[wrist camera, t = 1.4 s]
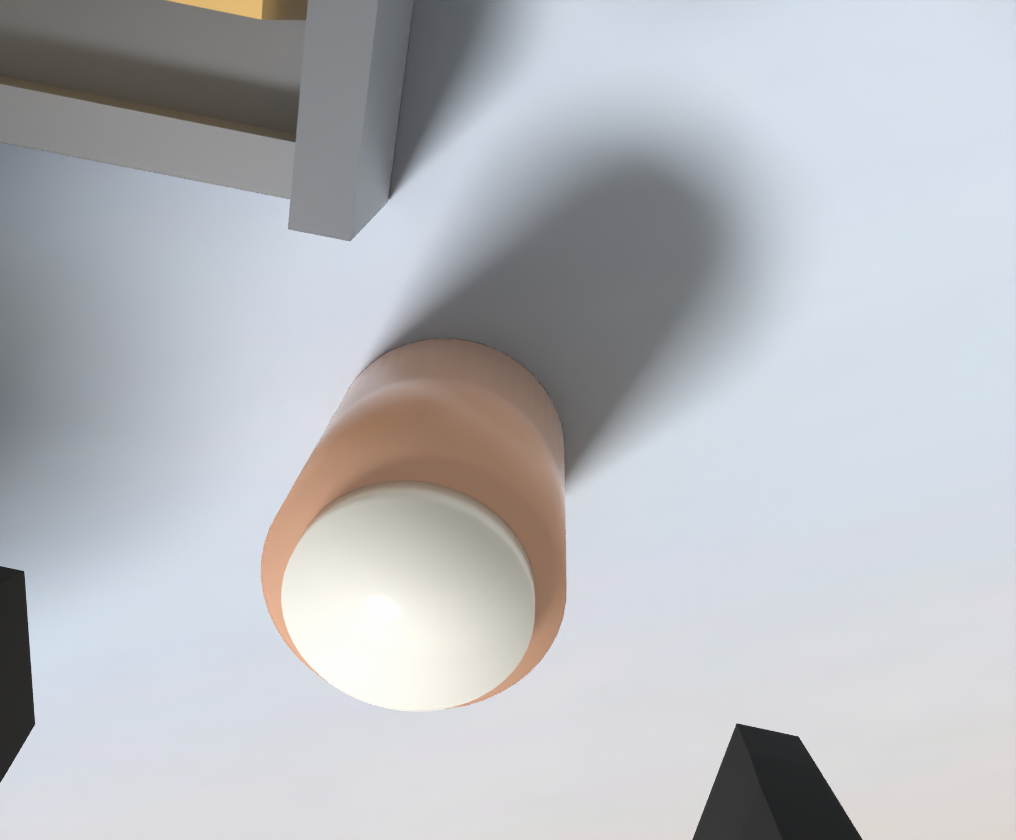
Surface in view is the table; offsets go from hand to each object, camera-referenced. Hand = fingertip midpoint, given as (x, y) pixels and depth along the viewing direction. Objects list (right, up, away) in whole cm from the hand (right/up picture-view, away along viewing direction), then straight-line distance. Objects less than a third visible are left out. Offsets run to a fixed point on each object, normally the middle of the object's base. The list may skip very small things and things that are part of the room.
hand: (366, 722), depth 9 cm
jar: (0, +2, +11) cm, 11 cm away
